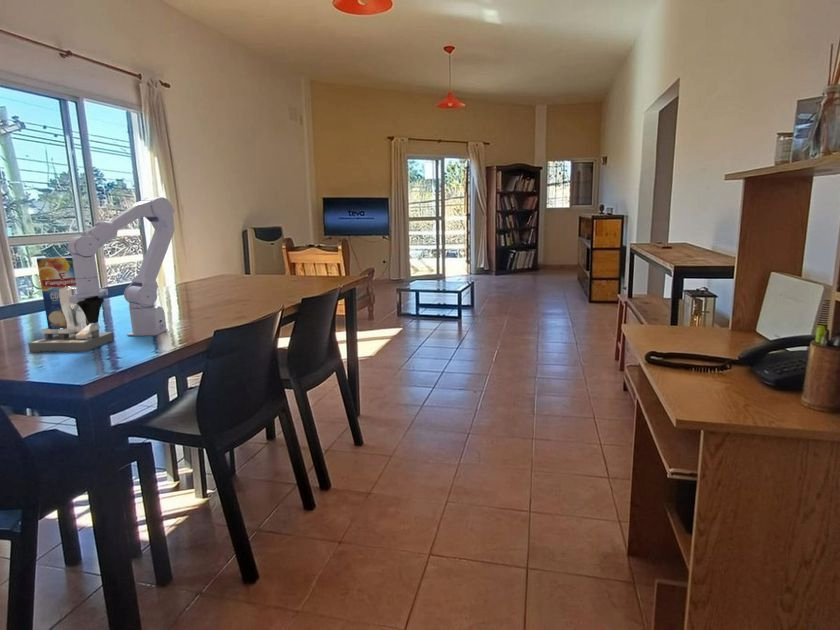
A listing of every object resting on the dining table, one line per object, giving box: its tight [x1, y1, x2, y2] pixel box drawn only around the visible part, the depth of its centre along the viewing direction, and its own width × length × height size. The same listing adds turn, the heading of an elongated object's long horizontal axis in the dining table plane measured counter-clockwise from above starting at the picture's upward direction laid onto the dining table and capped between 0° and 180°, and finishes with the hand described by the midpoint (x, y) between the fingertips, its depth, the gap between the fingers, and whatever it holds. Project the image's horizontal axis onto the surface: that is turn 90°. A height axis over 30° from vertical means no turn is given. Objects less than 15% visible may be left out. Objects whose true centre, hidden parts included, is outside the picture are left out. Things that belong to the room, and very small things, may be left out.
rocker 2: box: [75, 323, 101, 339], centre depth 152 cm, size 3×7×1 cm, turn 178°
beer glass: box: [59, 286, 87, 330], centre depth 168 cm, size 7×7×15 cm
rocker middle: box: [57, 328, 78, 334], centre depth 152 cm, size 3×7×1 cm, turn 178°
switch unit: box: [27, 329, 115, 353], centre depth 152 cm, size 16×13×4 cm
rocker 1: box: [40, 328, 58, 335], centre depth 152 cm, size 3×7×1 cm, turn 178°
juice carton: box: [36, 255, 90, 330], centre depth 178 cm, size 12×8×24 cm, turn 125°
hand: (93, 322), depth 154 cm, fingers closed
